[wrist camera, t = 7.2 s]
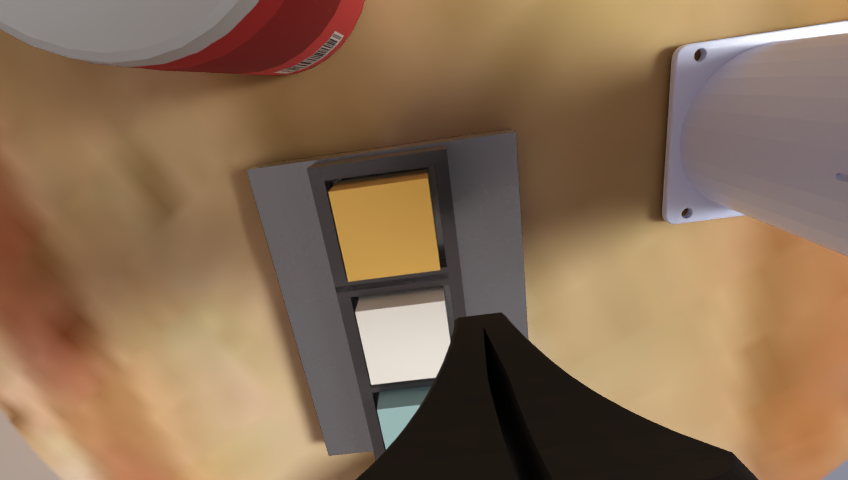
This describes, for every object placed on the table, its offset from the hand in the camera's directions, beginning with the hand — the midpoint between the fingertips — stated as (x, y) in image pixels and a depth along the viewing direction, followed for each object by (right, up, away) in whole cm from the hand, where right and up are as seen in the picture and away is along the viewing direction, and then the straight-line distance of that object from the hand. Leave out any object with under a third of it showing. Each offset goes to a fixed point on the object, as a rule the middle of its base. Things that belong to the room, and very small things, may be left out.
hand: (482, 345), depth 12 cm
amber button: (-3, +4, +7) cm, 9 cm away
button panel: (-2, -1, +11) cm, 11 cm away
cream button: (-2, -1, +9) cm, 10 cm away
